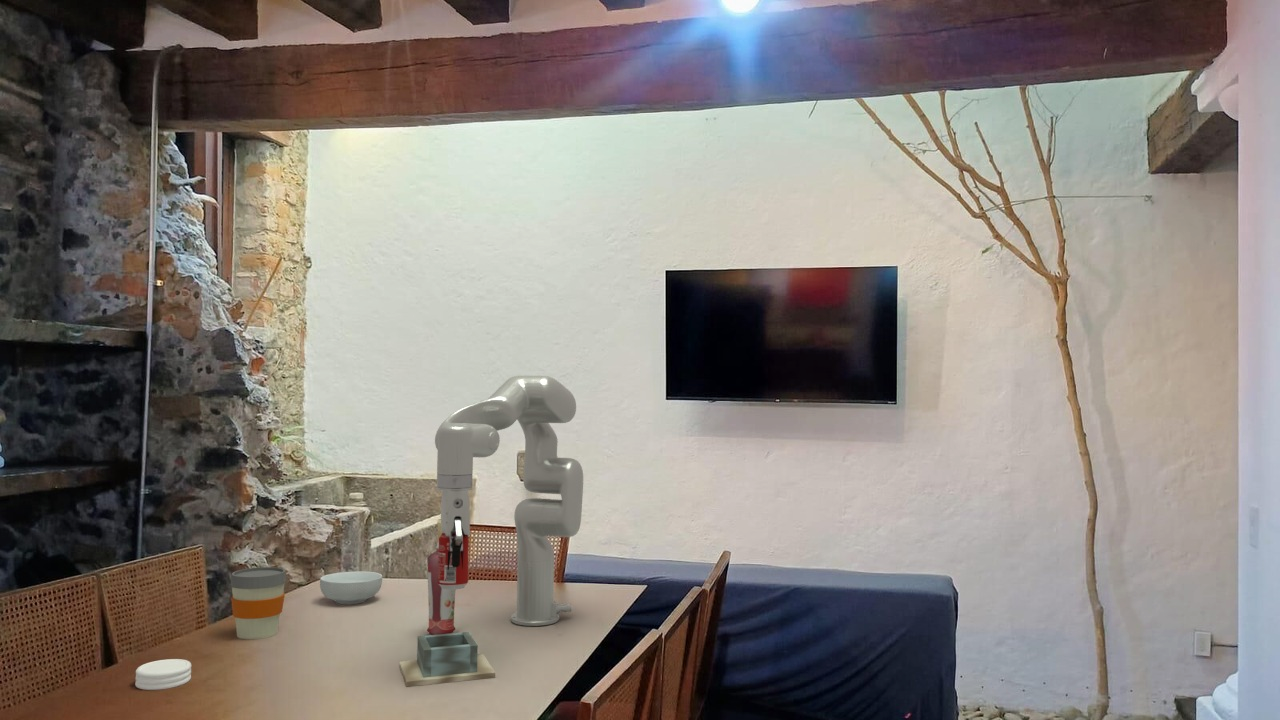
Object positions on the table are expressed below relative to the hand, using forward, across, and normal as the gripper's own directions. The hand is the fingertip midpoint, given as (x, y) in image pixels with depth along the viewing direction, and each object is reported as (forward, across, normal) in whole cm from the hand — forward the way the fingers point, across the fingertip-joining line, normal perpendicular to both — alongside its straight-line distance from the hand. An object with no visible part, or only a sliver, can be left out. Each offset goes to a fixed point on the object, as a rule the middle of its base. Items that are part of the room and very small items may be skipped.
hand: (452, 566), depth 189 cm
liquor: (+22, +28, -2) cm, 36 cm away
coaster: (+23, +12, +56) cm, 61 cm away
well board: (+22, 0, +1) cm, 22 cm away
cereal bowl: (+22, +72, +16) cm, 77 cm away
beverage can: (+5, -1, 0) cm, 5 cm away
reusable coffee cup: (+22, +44, +40) cm, 63 cm away
